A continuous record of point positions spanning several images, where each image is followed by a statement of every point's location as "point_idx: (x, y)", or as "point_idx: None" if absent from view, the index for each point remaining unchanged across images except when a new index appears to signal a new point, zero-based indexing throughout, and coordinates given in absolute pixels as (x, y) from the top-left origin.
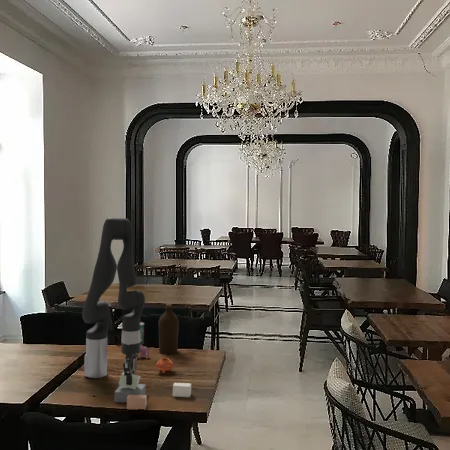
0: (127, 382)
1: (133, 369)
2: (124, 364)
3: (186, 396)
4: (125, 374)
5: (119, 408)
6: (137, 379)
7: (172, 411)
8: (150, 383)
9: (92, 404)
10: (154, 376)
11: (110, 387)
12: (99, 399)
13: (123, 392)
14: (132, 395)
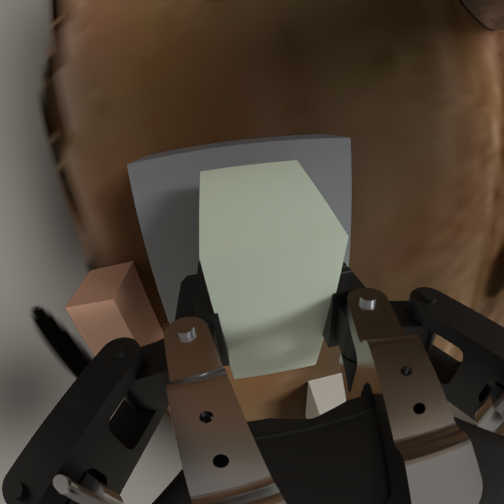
0: (183, 292)
1: (353, 360)
2: (17, 499)
3: (306, 411)
4: (107, 367)
5: (79, 231)
6: (233, 373)
7: (165, 413)
8: (446, 247)
9: (81, 53)
10: (496, 234)
11: (381, 46)
12: (164, 42)
13: (144, 239)
14: (110, 325)
